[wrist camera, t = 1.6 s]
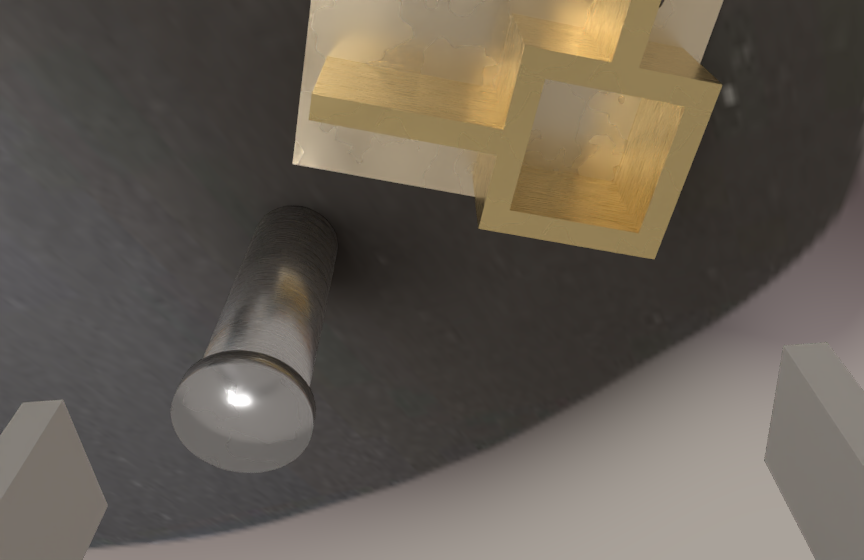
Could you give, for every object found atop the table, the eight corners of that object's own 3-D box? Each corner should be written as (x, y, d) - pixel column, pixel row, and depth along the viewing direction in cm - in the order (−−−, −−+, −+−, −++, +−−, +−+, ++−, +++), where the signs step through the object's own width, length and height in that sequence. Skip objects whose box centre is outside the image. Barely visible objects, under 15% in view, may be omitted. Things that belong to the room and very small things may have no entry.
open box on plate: (635, 216, 37) (668, 282, 32) (295, 155, 36) (273, 214, 30) (774, -166, 29) (848, -161, 24) (344, -268, 28) (325, -286, 22)
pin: (242, 277, 39) (168, 462, 28) (250, 190, 36) (172, 354, 25) (339, 293, 39) (304, 481, 28) (353, 207, 37) (320, 376, 26)
